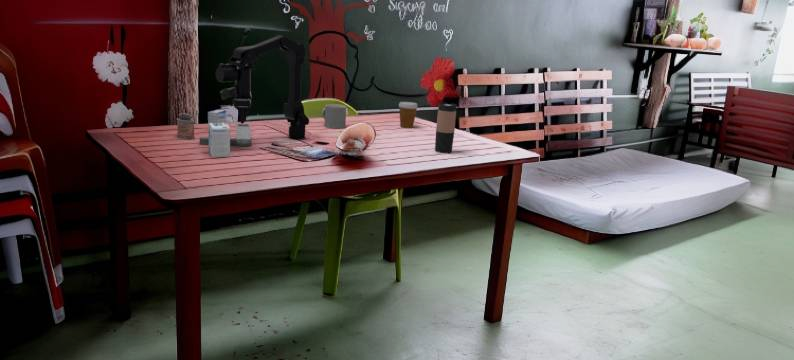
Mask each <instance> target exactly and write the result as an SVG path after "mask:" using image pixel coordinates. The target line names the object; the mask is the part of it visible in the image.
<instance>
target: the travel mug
mask: <svg viewBox="0 0 794 360" xmlns="http://www.w3.org/2000/svg"><path fill="white" fill-rule="evenodd" d="M457 107H458V105H457V103H450V104H448V103H447V102H439V103H438V108H437V116H436V117H437V118H436V126H435V127H436V128H435V143H434V144H435V145H434V151H435V152H437V153H439V154H450V153H452V152H453V145H454V139H455V138H454V137H455V127H456V120H457V119H456V117H457Z"/></svg>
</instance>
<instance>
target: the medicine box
mask: <svg viewBox="0 0 794 360" xmlns="http://www.w3.org/2000/svg"><path fill="white" fill-rule="evenodd" d="M207 121H208V122H207V124H208V130H207V131H209V123H227V110H224V109H215V110H211V111H207Z"/></svg>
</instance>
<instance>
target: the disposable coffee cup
mask: <svg viewBox="0 0 794 360" xmlns="http://www.w3.org/2000/svg"><path fill="white" fill-rule="evenodd" d="M398 107H399V124H400V126H399V127H400V128H401V129H402V128H403V129H413V128H414V125H415V119H416V115H417V110H418V107H419V106H418V103H416V102H412V101H411V102H410V101H399V103H398Z"/></svg>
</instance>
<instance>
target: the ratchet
mask: <svg viewBox="0 0 794 360" xmlns="http://www.w3.org/2000/svg"><path fill="white" fill-rule="evenodd" d="M252 140H253V139H252V137H251V138H250V139H236V136H235V137H230V147H231V146H236V147H240V148H245V147H246V148H247V147H252V145H253V143H252ZM198 141H199V146H209V136H208V137H206V136H205V137H204V136H203V137H201V136H200V137H199V140H198Z"/></svg>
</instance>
